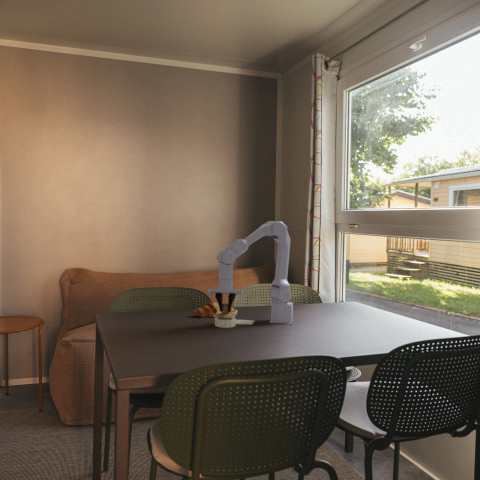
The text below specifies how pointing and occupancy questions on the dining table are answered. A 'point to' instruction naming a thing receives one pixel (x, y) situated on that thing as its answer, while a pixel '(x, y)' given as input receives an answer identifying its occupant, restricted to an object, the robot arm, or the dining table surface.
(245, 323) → the plate
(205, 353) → the dining table surface
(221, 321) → the bowl
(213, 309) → the croissant
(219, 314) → the lid
